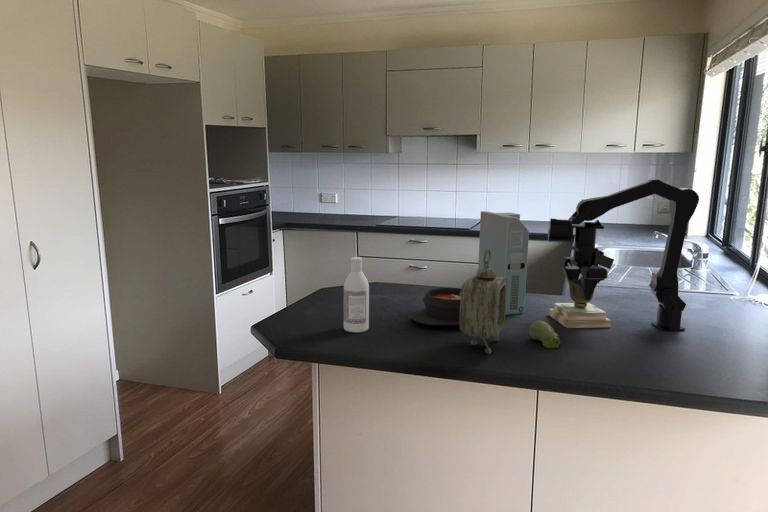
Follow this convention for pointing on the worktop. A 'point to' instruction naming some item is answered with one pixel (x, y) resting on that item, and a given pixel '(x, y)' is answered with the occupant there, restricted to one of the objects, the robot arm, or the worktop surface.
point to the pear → (544, 334)
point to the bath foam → (356, 299)
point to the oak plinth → (579, 316)
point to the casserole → (440, 307)
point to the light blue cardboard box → (506, 254)
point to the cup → (578, 293)
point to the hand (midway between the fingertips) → (580, 296)
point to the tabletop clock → (483, 305)
